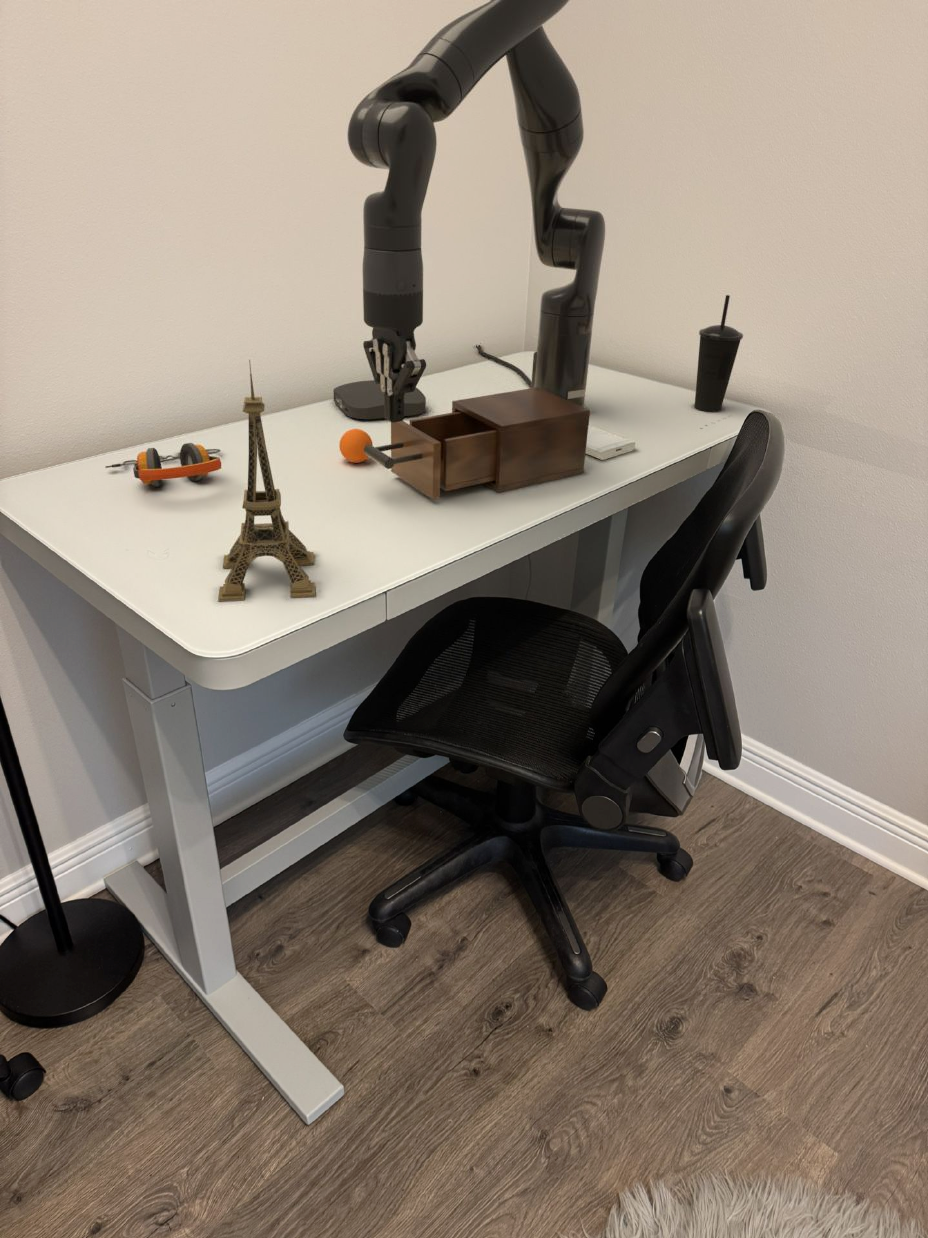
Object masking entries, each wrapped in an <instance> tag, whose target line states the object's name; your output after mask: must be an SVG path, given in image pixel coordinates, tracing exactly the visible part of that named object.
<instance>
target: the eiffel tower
mask: <svg viewBox="0 0 928 1238" xmlns="http://www.w3.org/2000/svg"><path fill="white" fill-rule="evenodd" d="M248 361H249V362H248V363H249V372H250V373H249V378H250V379H249V381H250V396H245V397H244V399H243V400H244V401H243V406H242V412H243V413H246V414H248V463H247V465H248V466H247V467H248V468H247V489H244V493H243V499H242V500H243V501H242V509H244V511H245V520H244V522H241V528H240V534H239V536H238V537H237V538H236V540H235V542H234V543H233V545H232V546H231V549H230V550H229V553H228V554H224V555H223V562H222V569H231V570H230V571H229V573H228V575H226V578H225V579H224V583H223V584H222V586H219V590H218V597H217V601H218V602H230V601H231V602H233V601H244V600H245V593H246V584H245V582H244V581H245V578H246V574H247V571H248V569H249V566H250V564H251V563H252V562H253V561H255V560H256V559H257V558H261V557H273V558H275V559H276V560H278V561H280V562H281V563H282V564H283V567H284V569H285V572H286V574H287V577H288V579H289V582H290V583H289V592H290V593H289V594H290V595H289V597H290V599H292V598H294V599H295V598H310V597H313V598H315V597H316V582H314V581H312V580H311V579H310V576H309V575H308V574H307V573H306V572H305V571H304V569H303V568H302V567H301V566H310V565H312V566H313V565H315V556H314V555H315V554H314V551H311V550H308V548H307V547H306V545H305V544H304V543H303V542H302V541H301V540H300V539H299V538H298V537H297V536H296V535H295V534H294V533H293V532H292V531H291V530H290V525H289V520H287V521H285V518H284V516H283V514H282V510H281V506H282V496H281V495H282V494H281V491H280V488H275V484H274V479H273V473H272V468H271V464H270V459H269V454H268V449H267V445H266V439H265V433H264V427H263V420H262V415H261V413H264V412H265V408H266V407H265V403H264V402H263V397H262V396H255V390H254V382H253V375H252V368H251V367H252V366H251V359H248ZM258 462H259V467H260V472H261V477H262V482H263V483H262V484H263V488H264V490H260V491H259V490H257V470H258V469H257V468H258ZM264 516H265V517H266V516H267V517H268V516H270V520H271V522H270V523H255V517H264Z"/></svg>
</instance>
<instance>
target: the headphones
mask: <svg viewBox="0 0 928 1238" xmlns="http://www.w3.org/2000/svg"><path fill="white" fill-rule="evenodd" d="M217 453H221V449H219V448H207V449H206V448H205V447H204V446H203V445H201V444H194V443H193V442H186V443H183V444H182V445H181V447H180V451H179V452H178V453H177V455H178V456H177V455H176V456H173V455H171V454H169V455H166V456H165V457H164V456H162V455H159V452H158V450H157V449H156V448H155V447H148V448H147V449H146V450H145V451H141V452H138V454H137V456H136V459H129V460H124V461H123V463H113V464H110V465H105V467H104V468H105V469H109V468H120V467H122V466H126V464H127V463H133V462H134V465H133V468H132V470H133V475H134V478H136V479H139V480H140V481H141V482H142V483H143V484H144V485H152V486H153V487H162V484H163V480H172V479H173V480H174V479H180V478H188V479H189V480H190V481H192V482H196V481H200V480H202V478H203V477H205V476H207V475H209V473H213V472H217V471H219V470H221V469H222V461H221V458H220V457H219V456H213V455H212V454H217ZM161 459H162V460H161ZM174 460H180V461H179V462H180V465H181V466H173V467H165V468H162V466H163V465H162V463H164V462H169V461H174Z"/></svg>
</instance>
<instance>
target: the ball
mask: <svg viewBox="0 0 928 1238" xmlns="http://www.w3.org/2000/svg"><path fill="white" fill-rule="evenodd" d="M367 445H372V446H373V447H374V444H373V440H372V438H371V435H369V434H368V433H367V432H366V431H365V430H362V429H360V428H352V429H348V430H347V431H345V432H344V433H343V434H342V435H341V437H340V440H339V452H340V453H341V455H342V457H343V458H344V459H345V460H346V461H348V462H351V463H355V464H356V463H357V464H358V463H362V462H365V461H366V460H367V459H369V458H370V457H369V456H367V455H366V454H365V453H364V448H365V446H367Z"/></svg>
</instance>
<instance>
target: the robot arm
mask: <svg viewBox="0 0 928 1238" xmlns="http://www.w3.org/2000/svg"><path fill="white" fill-rule="evenodd" d="M569 2H570V0H490V1H488V2H486V3H484V4H482V5H480V6H478V7H476V8H474V9H472V10H470V11H469V12H467V13H464V14H463V15H460V16H459V17H457V18H455V19H454V20H452V21H451V22H450V23H448V24H446V25H445V26H444V27H442V28H441V29H440V30H439V31H438V32H436V34H435V35H434V36H433V37H432V38H431V39H430V40H429V41H428V42H427V43H426V45H425V46H424V47H423V48H422V49H421V50H420V51H419V53H418V54H416V56H415V57H414V58H413V60H412V61H411V62H410V64H409V65H408V66H407V67H406V68H404V69H402V70H401V71H399V72H398V73H396V74H394V75H393V76H391V77H390V78H389V79H387V80H386V81H384V82H383V83H381V84H380V85H379V86H378V87H376V88H374V89H373V90H372V91H370V92H369V93H368V94H367V95H365V96H364V98H363V99H361V100H360V102H359V103H358V104H357V105H356V107H355V109H354V110H353V112H352V114H351V117H350V119H349V122H348V126H347V144H348V148H349V150H350V152H351V154H352V156H353V157H354V158H355V159H356V160H357V161H358V162H359V163H361V165H364V166H366V167H369V168H374V169H381V170H388V173H387V178H386V183H385V186H384V189H383V190H382V191H376V192H373V193H371V194H369V195H367V196H366V197H365V200H364V203H363V209H362V221H363V256H362V305H363V306H362V307H363V322H364V324H366V326H368V327H370V328H372V330H371V337H372V338H371V339H370V340H364V341H363V344H362V346H363V350H364V352H365V355H366V360H367V362H368V365H369V368H370V371H371V374H372V377H373V380H375V383H376V384H381V390H382V392H384V413H385V418H384V419H385V420H387V421H388V422H389V423H391V422H392V423H394V422H399V421H404V419H405V416H404V395H405V393H409V392H413V391H414V389H415V388H417V386H418V384H419V382H420V380H421V378H422V376H423V374H424V372H425V370H426V368H427V361H426V360H425V359H424V358H421V359H419V357H418V356H417V354H416V348H417V343H416V339H415V338H416V337H415V333H414V332H415V330H416V329H417V328H418V327H420V326H422V324H423V322H424V261H423V252H422V220H423V219H422V213H423V208H424V204H425V200H426V196H427V193H428V188H429V184H430V180H431V176H432V171H433V167H434V164H435V158H436V155H437V145H438V144H437V143H438V142H437V131H436V126H435V123H439V122H442V121H444V120H447V118H449V117H450V116H451V115H452V114H454V112H456V110H457V109H458V107H459V106H460V105H461V104H462V103H463V101H464V100H465V99H466V98H467V97H468V95H470V93H471V92H472V91H473V90H474V88H475V87H476V86H477V85H478V83H479V82H480V81H481V80H482V79H483V78H484V76H486V75H487V74H488V72H489V71H490V70H491V69H492V68H494V66H495V65H497V64H498V63H499V61H501V60H502V59H503V58H504V57H505V60H506V63H507V69H508V74H509V77H510V83H511V89H512V94H513V98H514V104H515V113H516V120H517V126H518V131H519V138H520V141H521V147H522V151H523V156H524V160H525V161H524V162H525V167H526V173H527V178H528V184H529V192H530V201H531V211H532V212H531V213H532V224H533V225H532V226H533V237H534V245H535V250H536V255H537V258H538V260H539V261H540V263H541V264H543V265H544V266H547V267H550V268H554V269H564V270H571V271H572V270H573V271H575V274H574V278H573V280H572V281H571V282H569V283H568V284H567V283H566V285H563V286H559V287H553V288H551V289H547V290H546V291H544V292H543V293H542V294H541V298H540V305H539V306H540V307H539V321H538V333H537V335H538V336H537V348H536V351H534V352H533V356H532V357H533V358H532V370H531V372H532V373H531V379H530V378H529V377H528V375H526V373H525V372H523V370H521V369H520V368H519V367H518V366H516V365H514V364H512V363H510V362H508V361H506V360H504V359H501V358H499V357H497V356H495V355H492V354H490V353H487V352H485V351H484V350H482V345H481V346H480V345H479V346H478V347H477V345H476V346H475V348H476V349H477V352H478V353H479V354H480V355H482V356H483V357H486V358H487V359H490V360H492V361H495V362H497V363H499V364H501V365H503V366H505V367H508V368H510V369H512V370H514V371H515V372H517V374H519V375H520V376H521V377H522V379H523V380H524V381H525V382H526V383H527V385H528V387H529V389H530V388H536V387H537V388H540V389H542V390H544V391H547V392H549V393H551V394H554V395H556V396H558V397H561V398H563V399H565V400H568V401H570V402H572V403H575V404H577V405H579V406H582V407H584V408H586V406H585V405H586V404H585V402H586V393H587V392H586V391H587V383H588V373H589V365H590V363H589V362H590V356H591V355H590V354H591V344H592V336H593V335H592V334H593V326H594V325H593V324H594V315H595V307H596V299H597V295H598V288H599V280H600V273H601V265H602V260H603V253H604V248H605V241H606V220H605V217H604V215H603V213H602V212H600V211H598V210H592V209H584V208H572V207H562V206H561V205H560V203H559V197H558V195H559V194H558V193H559V189H560V187H561V186H562V183H563V181H564V179H565V177H566V175H567V174H568V173H569V171H570V170H571V167H573V164H574V163H575V161H576V159H577V157H578V155H579V153H580V152H581V150H582V149H581V148H582V145H583V142H584V136H585V135H584V134H585V132H584V131H585V129H584V121H583V120H584V119H583V111H582V102H581V101H582V100H581V96H580V92H579V88H578V86H577V83H576V81H575V79H574V78H573V76H572V74H571V72H570V70H569V68H568V67H567V65H566V63H565V62H564V61H563V59H562V57H561V55H560V54H559V53H558V51H557V49H556V48H555V47H554V45H553V44H552V41H551V40H550V38H549V36H548V35H547V33H546V31H545V28H544V24H546V23H547V22H548V21H549V20H551V19H552V18H553V17H554V16H556V15H557V14H558V13H559V12H561V10H563V8H564V7H565V6H566V5H567V4H568V3H569Z"/></svg>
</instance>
